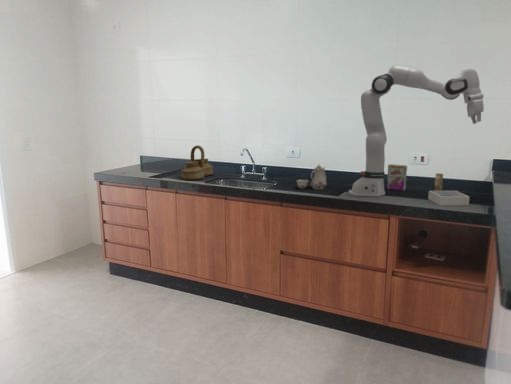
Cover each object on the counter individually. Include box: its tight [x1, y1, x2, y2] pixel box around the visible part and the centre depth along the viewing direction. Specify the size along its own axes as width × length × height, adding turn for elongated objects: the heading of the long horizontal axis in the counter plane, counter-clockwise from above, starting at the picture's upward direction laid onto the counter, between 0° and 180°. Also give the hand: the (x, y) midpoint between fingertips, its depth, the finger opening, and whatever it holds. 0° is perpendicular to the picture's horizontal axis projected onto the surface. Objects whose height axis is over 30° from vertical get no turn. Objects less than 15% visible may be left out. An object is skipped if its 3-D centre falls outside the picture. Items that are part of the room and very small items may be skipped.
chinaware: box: [295, 164, 328, 190], centre depth 281 cm, size 28×17×17 cm, turn 136°
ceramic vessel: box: [180, 145, 214, 181], centre depth 323 cm, size 34×18×25 cm, turn 164°
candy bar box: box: [386, 163, 408, 192], centre depth 271 cm, size 11×5×16 cm, turn 56°
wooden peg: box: [433, 173, 444, 191], centre depth 250 cm, size 4×4×14 cm
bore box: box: [427, 190, 470, 207], centre depth 237 cm, size 16×16×5 cm
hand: (477, 122), depth 232 cm, fingers open, 8 cm apart
